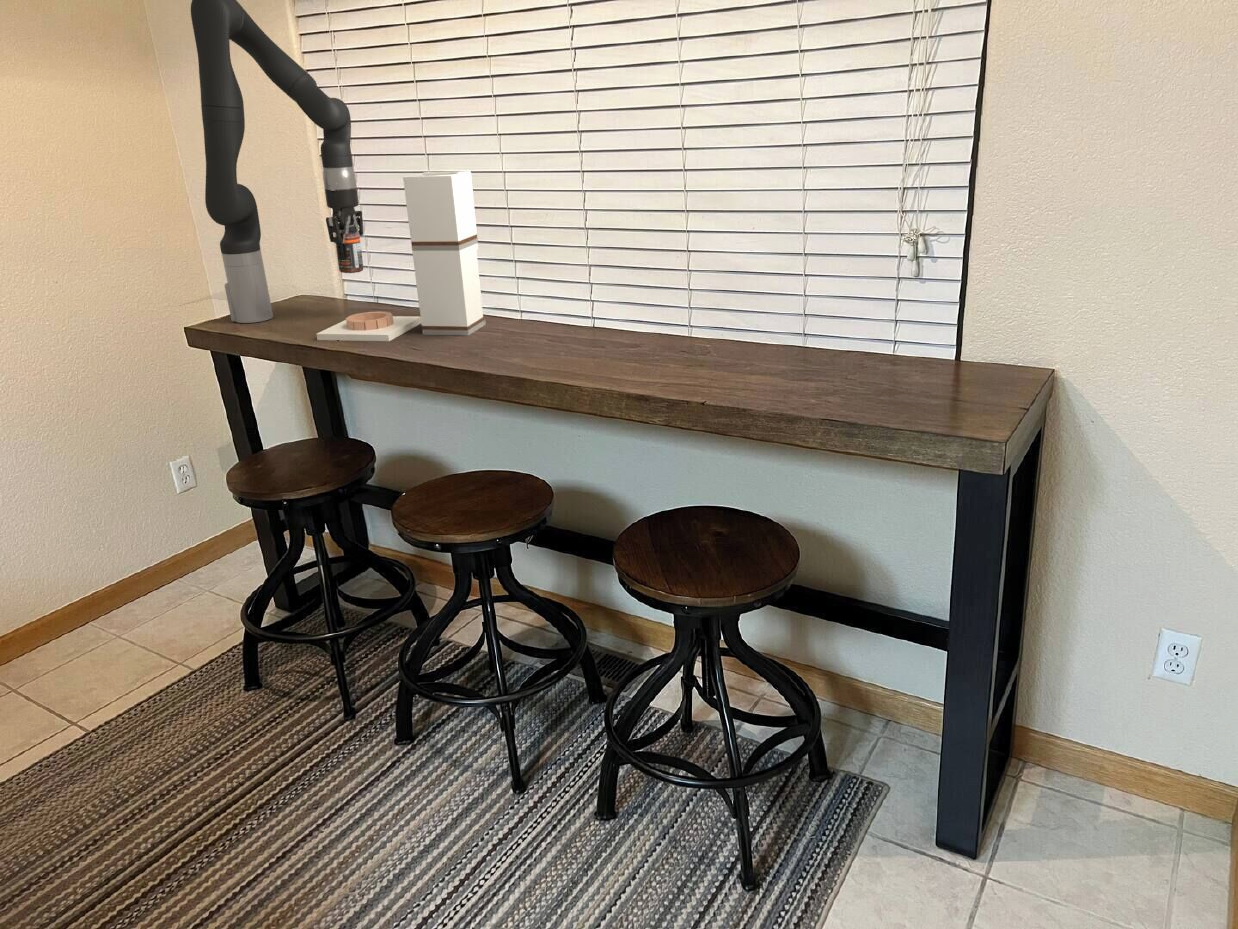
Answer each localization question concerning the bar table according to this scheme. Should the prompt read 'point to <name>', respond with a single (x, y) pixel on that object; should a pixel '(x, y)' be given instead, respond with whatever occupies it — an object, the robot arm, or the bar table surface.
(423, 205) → the white striped pillar
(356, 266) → the supplement bottle
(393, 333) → the collar mount
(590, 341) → the bar table surface
